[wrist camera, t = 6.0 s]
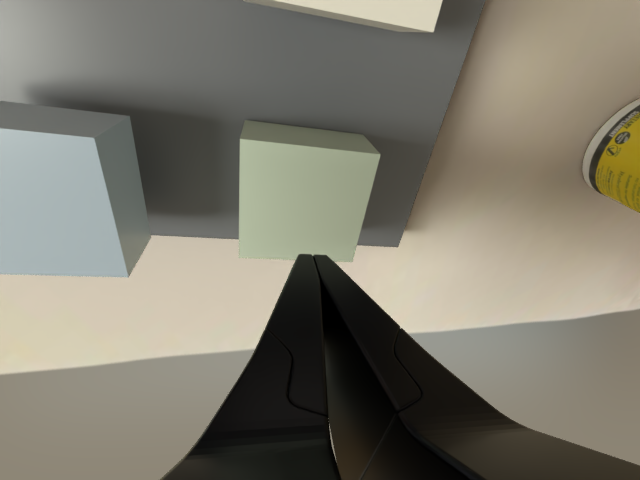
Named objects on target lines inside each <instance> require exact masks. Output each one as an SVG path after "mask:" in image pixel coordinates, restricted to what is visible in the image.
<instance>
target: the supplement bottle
mask: <svg viewBox="0 0 640 480" xmlns="http://www.w3.org/2000/svg"><path fill="white" fill-rule="evenodd" d="M582 172H583V177H584V179H585V181H586V183H587V184H588V185H589V186H590V187H591V188H593V189H594V190H596V191H597V192H599V193H601V194H603V195H605V196H607V197H609V198H611V199H613V200H615V201H617V202H619V203H621V204H623V205H625V206H627V207H629V208H631V209H633V210H635V211H637V212H639V213H640V99H638V100H636V101H634V102H632V103H630V104H628V105H627V106H625V107H624V108H622V109H621V110H620V111H618V112H617V113H616V114H615V115H613V116H612V117H611V118H610V119H609V120H608V121H607V122H606V123H605V124H604V125H603V126H602V127H601V128H600V130H599V131H598V132H597V133H596V135H595V136H594V137H593V139H592V140H591V142H590V144H589V145H588V148H587V150H586V152H585V155H584V159H583V165H582Z"/></svg>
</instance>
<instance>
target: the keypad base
mask: <svg viewBox="0 0 640 480" xmlns="http://www.w3.org/2000/svg"><path fill="white" fill-rule="evenodd" d="M484 3H485V0H443V1H442V4H441V8H440V11H439V15H438V18H437V21H436V25H435V28H434V32H398V31H392V30H387V29H382V28H377V27H372V26H367V25H362V24H357V23H352V22H347V21H342V20H337V19H331V18H326V17H321V16H316V15H311V14H306V13H301V12H296V11H291V10H286V9H281V8H275V7H270V6H265V5H260V4H255V3H250V2H245V1H243V0H0V101H7V102H15V103H24V104H32V105H41V106H49V107H58V108H66V109H75V110H83V111H92V112H100V113H109V114H117V115H126V116H130V121H131V126H132V132H133V138H134V143H135V149H136V155H137V160H138V166H139V172H140V177H141V183H142V188H143V194H144V200H145V205H146V211H147V217H148V222H149V228H150V234H151V235H161V236H181V237H201V238H221V239H239V172H240V136H241V133H242V129H243V125H244V122H245V120H249V121H257V122H265V123H274V124H282V125H290V126H298V127H306V128H314V129H322V130H330V131H338V132H347V133H355V134H363V135H364V136H365V137H366V138H367V140H368V141H369V142H370V143H371V144H372V145H373V146H374V147H375V149H376V150H377V151H378V152H379V153H380V154H381V155H380V159H379V163H378V167H377V170H376V174H375V178H374V182H373V186H372V189H371V193H370V197H369V201H368V205H367V208H366V212H365V216H364V220H363V223H362V227H361V231H360V235H359V239H358V242H357V245H363V246H384V247H398V246H399V243H400V240H401V238H402V235H403V232H404V229H405V226H406V223H407V221H408V218H409V215H410V212H411V209H412V207H413V204H414V201H415V198H416V195H417V192H418V190H419V187H420V184H421V181H422V178H423V175H424V173H425V170H426V167H427V164H428V161H429V159H430V156H431V153H432V150H433V147H434V144H435V142H436V139H437V136H438V133H439V130H440V127H441V125H442V122H443V119H444V116H445V113H446V111H447V108H448V105H449V102H450V99H451V96H452V94H453V91H454V88H455V85H456V82H457V79H458V77H459V74H460V71H461V68H462V65H463V63H464V60H465V57H466V54H467V51H468V48H469V46H470V43H471V40H472V37H473V34H474V31H475V29H476V26H477V23H478V20H479V17H480V15H481V12H482V9H483V6H484Z"/></svg>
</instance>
